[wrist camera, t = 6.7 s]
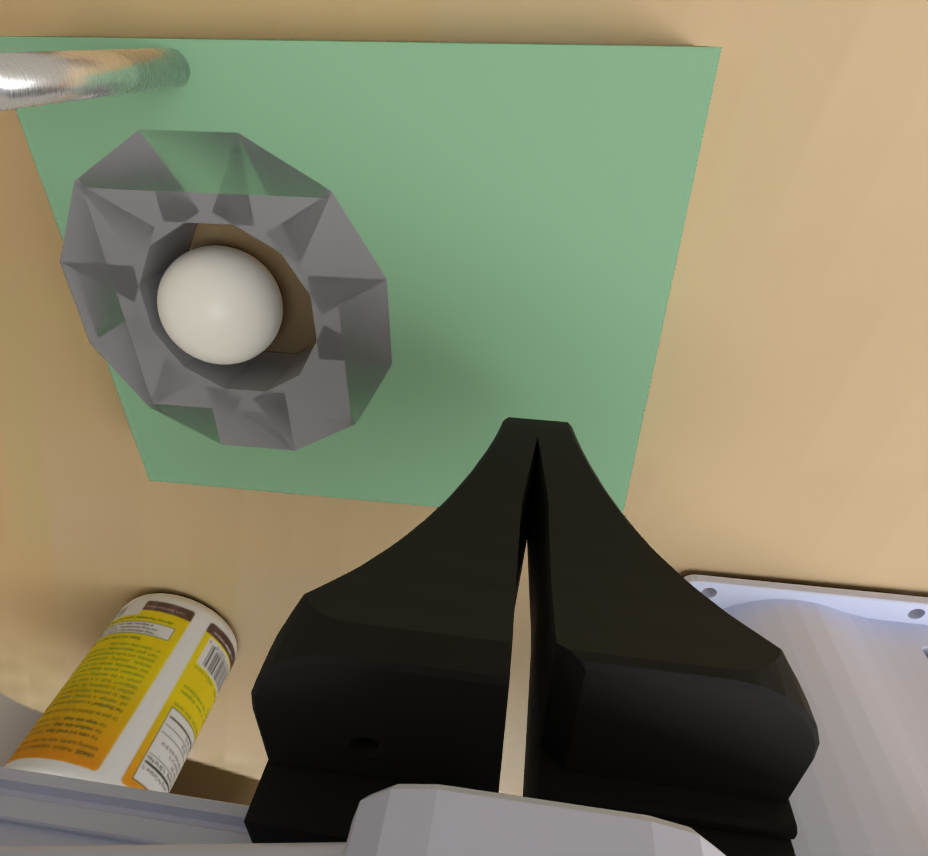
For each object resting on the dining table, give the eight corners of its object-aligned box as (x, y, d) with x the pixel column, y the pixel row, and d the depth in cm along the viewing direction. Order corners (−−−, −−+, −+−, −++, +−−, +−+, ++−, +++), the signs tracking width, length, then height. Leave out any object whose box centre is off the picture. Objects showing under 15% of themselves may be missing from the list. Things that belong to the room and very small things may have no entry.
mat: (695, 45, 13) (721, 46, 11) (613, 474, 20) (620, 523, 18) (54, 35, 15) (-24, 35, 13) (179, 438, 21) (140, 479, 19)
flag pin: (185, 48, 12) (-2, 53, 8) (193, 87, 13) (17, 111, 8) (61, 45, 12) (-182, 50, 8) (74, 84, 13) (-154, 106, 9)
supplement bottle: (104, 615, 28) (-92, 869, 19) (166, 568, 25) (-27, 836, 17) (200, 677, 30) (60, 933, 21) (266, 640, 27) (138, 911, 19)
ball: (232, 217, 17) (288, 247, 15) (262, 316, 19) (315, 353, 17) (118, 252, 15) (165, 291, 14) (164, 356, 17) (210, 402, 16)
